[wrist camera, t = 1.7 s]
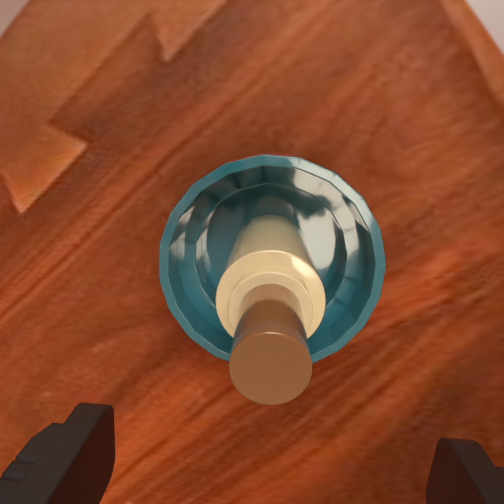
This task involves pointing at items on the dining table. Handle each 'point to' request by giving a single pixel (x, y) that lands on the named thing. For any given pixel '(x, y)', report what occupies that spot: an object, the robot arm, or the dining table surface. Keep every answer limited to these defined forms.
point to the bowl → (283, 204)
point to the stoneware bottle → (270, 309)
